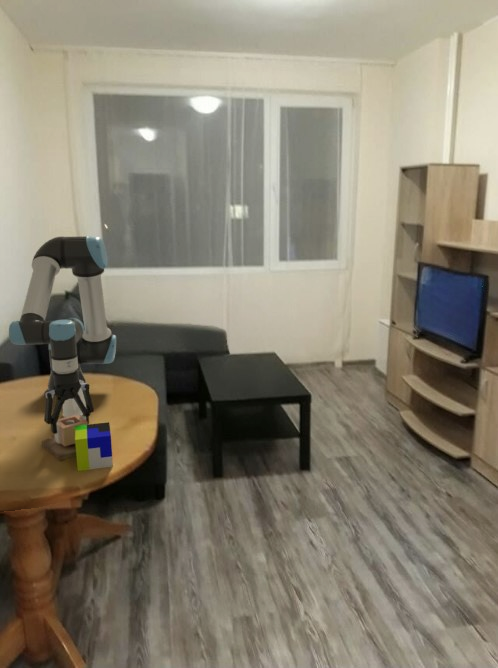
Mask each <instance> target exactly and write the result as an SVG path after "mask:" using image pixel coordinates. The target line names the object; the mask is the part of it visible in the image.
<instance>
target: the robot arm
mask: <svg viewBox="0 0 498 668" xmlns="http://www.w3.org/2000/svg"><path fill="white" fill-rule="evenodd" d="M108 262H109V260H108V253H107V247H106V245H105V242H104V240H103V238H100V237H99V236H91V235H86V236H56V237H53V238H51V239H49V240H47V241H45V242H44V243H43V244H42V245H41V246H40V247H39V248H38V249H37V250H36V252H35V254H34V255H33V258H32V261H31V268H32V274H31V277H30V281H29V284H28V288H27V292H26V296H25V300H24V304H23V308H22V311H21V316H20V319H19V320H14V321H12V322H11V323H10V324H9V327H8V337H9V340H10V342H11V343H12V344H13V345H20V346H21V345H22V346H23V345H24V346H27V345H28V346H29V345H48V348H47V349H48V354H49V355H48V356H49V363H50V366H49V367H50V374H49V379H48V383H47V391H44V394H43V395H44V397H45V405H44V419H43V421H44V422H45V423H46V424H47V425H50V429H51V433H52V434H53V435H54V434H55V441H56V442H57V443H59V444H60V443H61V436H60V424H59V423H58V422H57V421H58V419H60V413H61V412H62V410H63V404H64V402H65V400H68V399H73V398H74V400H75V401H76V403H77V405H78V406H79V408H80V410H81V411H82V413H83V414H80V417H81V418H83V419H84V420H86V421H87V422H88V425H89V423H90V418H89V417H90V415H91V413H94V411H95V408H94V405H93V402H92V397H91V393H90V384H89V383H87V381H86V378H85V376H84V373H83V371H82V369H81V365H99V364H100V365H101V364H102V365H104V364H111V363H113V362H114V360H115V357H116V351H117V335H115V334H112V330H111V329H110V328H109V327H108V325H107V324H108V323H107V317H106V307H105V300H104V292H103V284H102V283H103V282H102V275H103V274H104V272H105V269H106V268H107V267H108ZM61 269H67V270H68V269H71V272H72V275H73V276H74V277H76V278H77V283H78V284H77V285H78V290H79V299H80V304H81V305H80V306H81V312H82V313H81V314H82V320H83V321H81V320H80V319H79V318H77V317H68V318H65V319H57V320H56V319H55V320H46V317H47V313H48V309H49V306H50V300H51V297H52V296H51V295H52V292H53V288H54V283H55V279H56V276H57V275H58V274H59V273H60V271H61ZM79 380H82V381H84V383H83V384H80V382H79ZM80 388H81V389H82V391H83V395H84V399H85V403H86V407H85V406H84V404H83V402H82V401H81V399H80V396H79V395H78V391H79V390H80ZM55 395H56V399H55V403H54V407H53V398H54V397H55Z"/></svg>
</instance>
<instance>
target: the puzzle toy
mask: <svg viewBox="0 0 498 668" xmlns="http://www.w3.org/2000/svg"><path fill="white" fill-rule="evenodd" d="M75 444H76V456H75V457H76V466H77V471H78V472H79V471H87V470H88V471H89V470H95V469H103V468H112V467H114V464H113V463H114V462H113V451H112V449H113V448H112V446H113V445H112V434H111V426H110V422H99V423H91V424H88V425H79V426H75Z"/></svg>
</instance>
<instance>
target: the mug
mask: <svg viewBox="0 0 498 668" xmlns="http://www.w3.org/2000/svg"><path fill="white" fill-rule="evenodd" d="M79 382H80V384H83V383H84V381H82V380H79ZM78 395H79V396H80V399H81V401H82V402H83V404H84V406H85V407H86V408H87V406H86V403H85V399H84V395H83V391H82V389H81V388H80V390H79V391H78ZM76 414H77V415H79V416H80V414H83V413H82V411H81V410H80V408H79V406H78V405H77V403H76V401H75V400H74V398H73V399H68V400H65V402H64V404H63V406H62V418H65V417H68V416H72V415H76Z"/></svg>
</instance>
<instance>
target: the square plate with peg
mask: <svg viewBox="0 0 498 668" xmlns="http://www.w3.org/2000/svg"><path fill="white" fill-rule="evenodd" d="M70 424H74V420H68V421H66V426H67V425H70ZM41 446H43V447H44V448H45V449H46V450H47V451H48V452H49V453H50V454H52V455H53V456H54V457H55V458H56V459H58V460H59V461H60V462H61V461H63V460H66V459H70V458H72V457H77V456H76V444H71V445H68V446H63V445H62V444H61V443H60V444H59V443H57V442H56V441H55V438H54V436H52V437H49V438H46V439H43V440H41Z"/></svg>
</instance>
